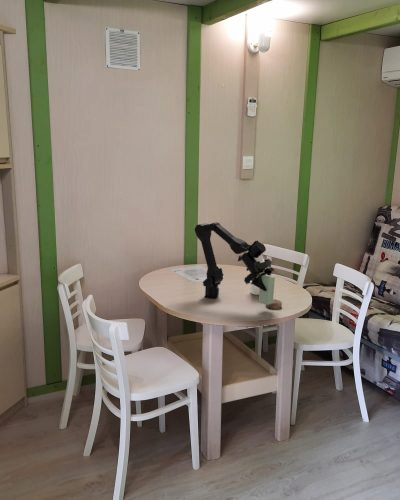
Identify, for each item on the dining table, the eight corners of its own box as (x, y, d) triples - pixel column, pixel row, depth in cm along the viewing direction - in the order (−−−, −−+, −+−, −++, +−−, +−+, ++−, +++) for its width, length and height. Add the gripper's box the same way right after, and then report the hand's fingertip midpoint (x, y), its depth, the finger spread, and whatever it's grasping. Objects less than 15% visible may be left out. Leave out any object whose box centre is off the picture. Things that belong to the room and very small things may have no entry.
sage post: (258, 302, 229) (260, 276, 226) (264, 300, 233) (266, 274, 230) (267, 304, 226) (269, 278, 223) (272, 302, 230) (274, 276, 227)
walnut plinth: (264, 308, 235) (264, 303, 234) (266, 303, 242) (266, 298, 242) (280, 309, 233) (281, 305, 232) (282, 304, 240) (282, 300, 240)
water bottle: (261, 291, 262) (264, 247, 257) (264, 295, 256) (266, 250, 250) (249, 291, 262) (251, 247, 257) (251, 295, 255) (253, 249, 250)
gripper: (250, 256, 220) (269, 284, 215) (272, 251, 234) (290, 277, 229) (236, 270, 226) (254, 297, 222) (257, 263, 240) (275, 289, 236)
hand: (269, 289), depth 227 cm, fingers closed on sage post, 5 cm apart
